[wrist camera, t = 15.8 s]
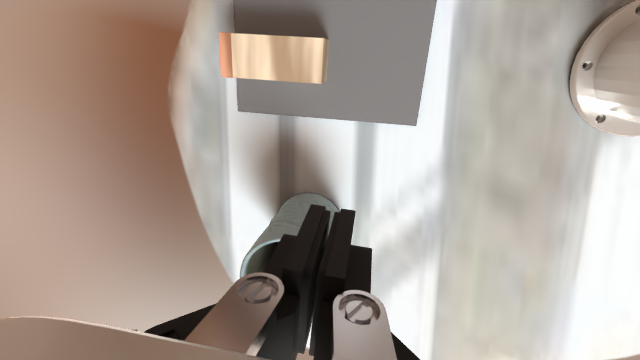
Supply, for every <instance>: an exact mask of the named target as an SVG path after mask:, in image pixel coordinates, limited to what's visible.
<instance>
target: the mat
mask: <svg viewBox="0 0 640 360" xmlns="http://www.w3.org/2000/svg"><path fill="white" fill-rule="evenodd" d="M436 2H437V0H234V19H235V33H238V34H256V35H275V36H294V37H312V38H325V39H328V40H329V47H328V64H327V81H325V82H323V83H322V84H317V83H302V82H288V81H274V80H260V79H245V78H237V98H238V111H241V112H253V113H265V114H277V115H289V116H302V117H314V118H326V119H338V120H350V121H363V122H375V123H387V124H399V125H411V126H416V124H417V118H418V112H419V106H420V100H421V94H422V88H423V81H424V75H425V69H426V63H427V57H428V51H429V45H430V39H431V33H432V26H433V20H434V14H435V8H436Z"/></svg>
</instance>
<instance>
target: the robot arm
mask: <svg viewBox="0 0 640 360" xmlns="http://www.w3.org/2000/svg"><path fill="white" fill-rule="evenodd" d="M635 10H636V12H635ZM583 63H584V67H583V68H582V65H583ZM570 95H571V98H572V102H573V105H574V107H575V109H576V110H577V112H578V114H579V115H580V116H581V117H582V118H583V119H584V120H585V122H587V123H588V124H590V125H591V126H593V127H594V128H596V129H599V130H601V131H604V132H606V133H610V134H614V135H618V136H629V137H634V136H640V0H635V1H633V2H631V3H629V4H627V5H626V6H624V7H622V8H620V9H618V10H617V11H616V12H614V13H613V14H611V15H610V16H608V17H607V18H606V19H605V20H604V21H603V22H601V23H600V24H599V25H598V26H597V27H596V28H595V29H594V30H593V31H592V33H591V34H590V35H589V36H588V38H587V39H586V40H585V41H584V43H583V45H582V47H581V48H580V50H579V52H578V54H577V56H576V58H575V61H574V64H573V66H572V70H571V76H570ZM596 117H597V118H596ZM330 214H331V211H329V210H326V206H321V205H315V204H311V205H310V208H309V210H308V212H307V214H306V216H305V219H304V221H303V223H302V225H301V228H300V230H299V232H298V234H297V236H295V235H289V234H283V236H282V238H281V240H280V242H279V243H278V245H277V247H276V249H275V251H274V253H273V255H272V257H271V259H270V261H269V262H268V264H267V266H266V268H265V270H264V272H262V273H252V274H247V275H245V276H243V277H241V278H240V279H239V280H237V281H236V282H235V283H234V285H233V286H232V287H231V288H230V289H229V290H228V291H227V293H226V294H225V295H224V296H223V297H222V298H221V299H220V300H219V302H218V303H216V304H214V305H211V306H208V307H206V308H203V309H200V310H197V311H195V312H192V313H189V314H187V315H184V316H181V317H179V318H176V319H173V320H170V321H168V322H165V323H162V324H160V325H157V326H155V327H152V328H151V329H148V330H146V331H145V332H139V331H138V330H129V329H124V328H119V327H114V326H110V325H103V324H97V323H92V322H86V321H80V320H74V319H68V318H60V317H49V316H16V317H7V318H0V360H296V356H297V353H302V354H304V351H305V348H306V344H307V340H308V336H309V332H310V327H311V323H312V331H311V340H310V350H309V355H311V356H314V360H420V359H419V358H418V357H417V356H416V355H415V354H414V353H413V352H412V351H411V350H409V349H408V348H407V347H406V346H405V345H404V344H403V343H402V342H401V341H400V340H399V339H398V338H397V337H396V336H395V335H394V334H393V333H392V332H391V331H390V326H389V322H388V318H387V313H386V310H385V307H384V305H383V304H382V302H381V301H380V300H379V299H378V298H376V297H375V296H374V295H372V294H370V291H371V262H372V248H366V247H360V246H354V245H351V239H352V232H353V225H354V218H355V211H353V210H347V209H341V212H335V213H334V217H333V220H332V224H331V228H330V231H329V223H330ZM328 231H329V235H328ZM312 319H313V321H312Z"/></svg>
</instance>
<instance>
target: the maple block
mask: <svg viewBox="0 0 640 360" xmlns="http://www.w3.org/2000/svg"><path fill="white" fill-rule="evenodd" d="M219 47H220V66H221V77H228V78H245V79H260V80H274V81H288V82H302V83H317V84H322V83H323V82H325V81H327V64H328V47H329V40H328V39H325V38H312V37H294V36H275V35H256V34H238V33H224V32H219Z"/></svg>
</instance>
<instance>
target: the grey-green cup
mask: <svg viewBox="0 0 640 360" xmlns="http://www.w3.org/2000/svg"><path fill="white" fill-rule="evenodd" d="M311 204H315V205H321V206H326V210H329V211H331V214H330V223H329V231H330V228H331V224H332V220H333V217H334V213H335V212H339V210H338V208H337V207H336V206H335V205H334V204H333V203H332V202H331V201H329V200H328V199H326V198H325V197H323V196H321V195H318V194H314V193H302V194H298V195H295V196H293V197H291V198H290V199H288V200H287V201H286V202H285V203H284V204H283V205H282V206H281V208H280V209H279V211H278V213H277V215H276V216H275V217H274V219H272V220H271V222H270V224H269V226H268V227H267V228H266V230H265V231H264V232H263V233H262V234H261V236H260V237H259V238H258V240H257V241H256V242H255V244H254V245H253V246H252V248H251V249H250V250H249V252H248V253H247V255H246V256H245V258H244V260H243V262H242V266H241V270H240V278H241V277H243V276H245V275H247V274H252V273H262V272H264V270H265V268H266V266H267V264H268V262H269V261H270V259H271V257H272V255H273V253H274V251H275V249H276V247H277V245H278V243H279V242H280V240H281V238H282V236H283V234H289V235H295V236H297V234H298V232H299V230H300V228H301V225H302V223H303V221H304V219H305V216H306V214H307V212H308V210H309V208H310V205H311ZM329 231H328V235H329ZM312 321H313V319H312Z"/></svg>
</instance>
